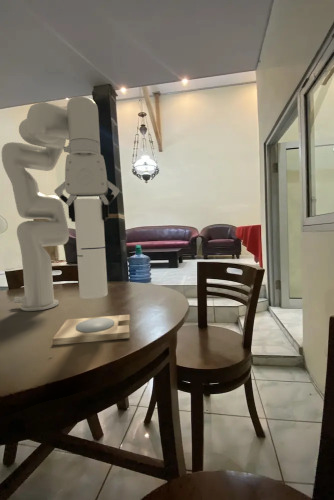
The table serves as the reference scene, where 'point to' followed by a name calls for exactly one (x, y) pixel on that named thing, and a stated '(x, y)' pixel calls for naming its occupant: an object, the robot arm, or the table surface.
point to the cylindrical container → (90, 248)
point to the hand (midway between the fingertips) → (89, 220)
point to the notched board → (93, 329)
